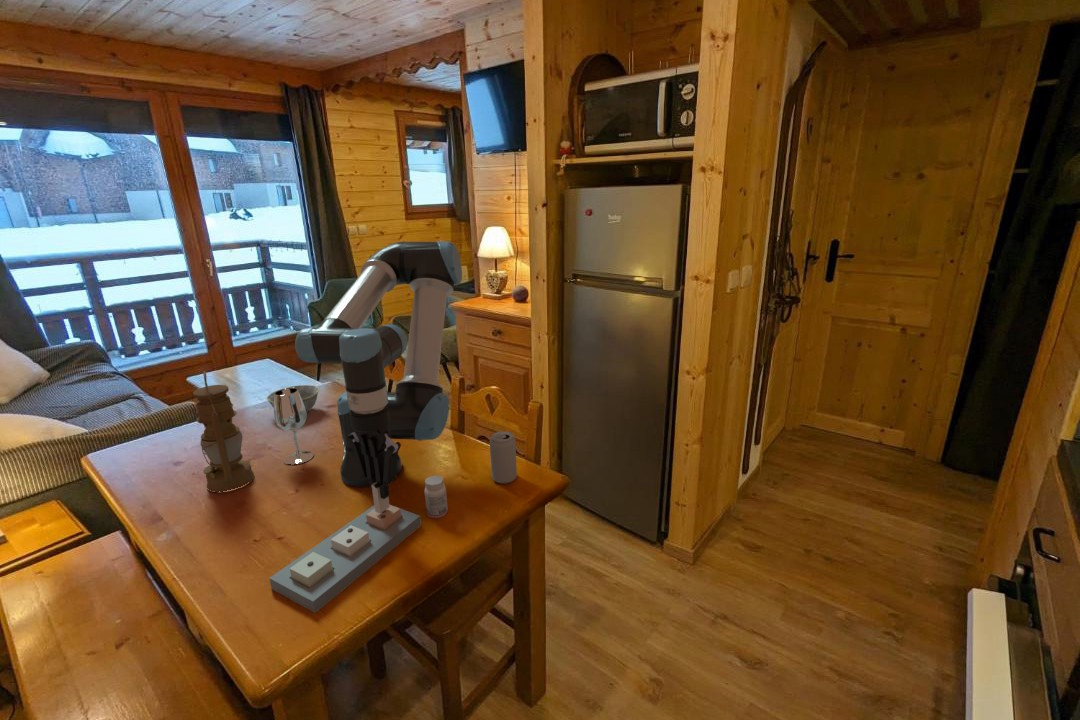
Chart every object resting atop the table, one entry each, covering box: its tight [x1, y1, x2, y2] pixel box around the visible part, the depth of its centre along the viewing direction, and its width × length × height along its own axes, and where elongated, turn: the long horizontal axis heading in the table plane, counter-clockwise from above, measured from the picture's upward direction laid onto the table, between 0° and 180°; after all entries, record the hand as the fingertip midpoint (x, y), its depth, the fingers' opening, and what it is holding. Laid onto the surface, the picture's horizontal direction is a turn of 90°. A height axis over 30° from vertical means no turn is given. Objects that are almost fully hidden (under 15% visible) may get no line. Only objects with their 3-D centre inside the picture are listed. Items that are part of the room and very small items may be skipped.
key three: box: [366, 504, 402, 531], centre depth 106 cm, size 5×5×3 cm
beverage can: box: [489, 430, 518, 485], centre depth 123 cm, size 6×6×12 cm
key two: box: [331, 525, 370, 557], centre depth 98 cm, size 5×5×3 cm
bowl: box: [266, 384, 320, 414], centre depth 166 cm, size 16×16×8 cm
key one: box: [289, 552, 333, 588], centre depth 91 cm, size 5×5×3 cm
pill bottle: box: [424, 474, 449, 519], centre depth 111 cm, size 5×5×8 cm
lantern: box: [192, 370, 255, 492], centre depth 122 cm, size 15×10×30 cm
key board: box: [268, 505, 422, 614], centre depth 99 cm, size 27×12×2 cm, turn 151°
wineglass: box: [273, 387, 314, 466], centre depth 134 cm, size 8×8×20 cm
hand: (382, 509), depth 105 cm, fingers closed
